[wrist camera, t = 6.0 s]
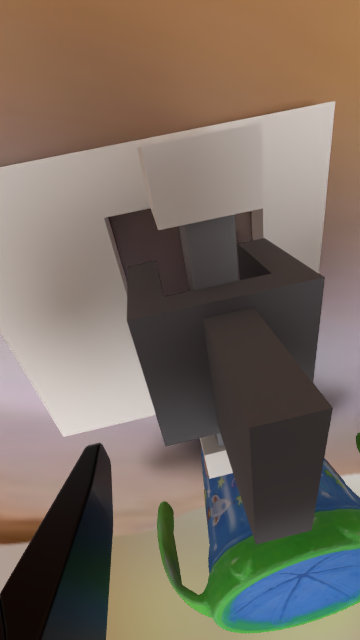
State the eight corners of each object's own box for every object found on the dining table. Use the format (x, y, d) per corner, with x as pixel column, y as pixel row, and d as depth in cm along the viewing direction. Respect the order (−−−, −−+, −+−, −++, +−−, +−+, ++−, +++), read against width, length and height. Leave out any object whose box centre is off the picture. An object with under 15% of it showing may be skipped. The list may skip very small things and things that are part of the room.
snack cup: (341, 358, 21) (492, 507, 12) (332, 445, 26) (431, 589, 18) (133, 415, 21) (134, 608, 12) (167, 490, 26) (186, 659, 17)
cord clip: (265, 347, 16) (383, 519, 8) (157, 372, 15) (180, 571, 8) (264, 237, 12) (452, 361, 5) (127, 266, 12) (123, 438, 5)
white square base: (297, 364, 20) (359, 444, 15) (67, 418, 20) (43, 522, 14) (314, 105, 13) (459, 71, 7) (-66, 181, 12) (-236, 207, 6)
